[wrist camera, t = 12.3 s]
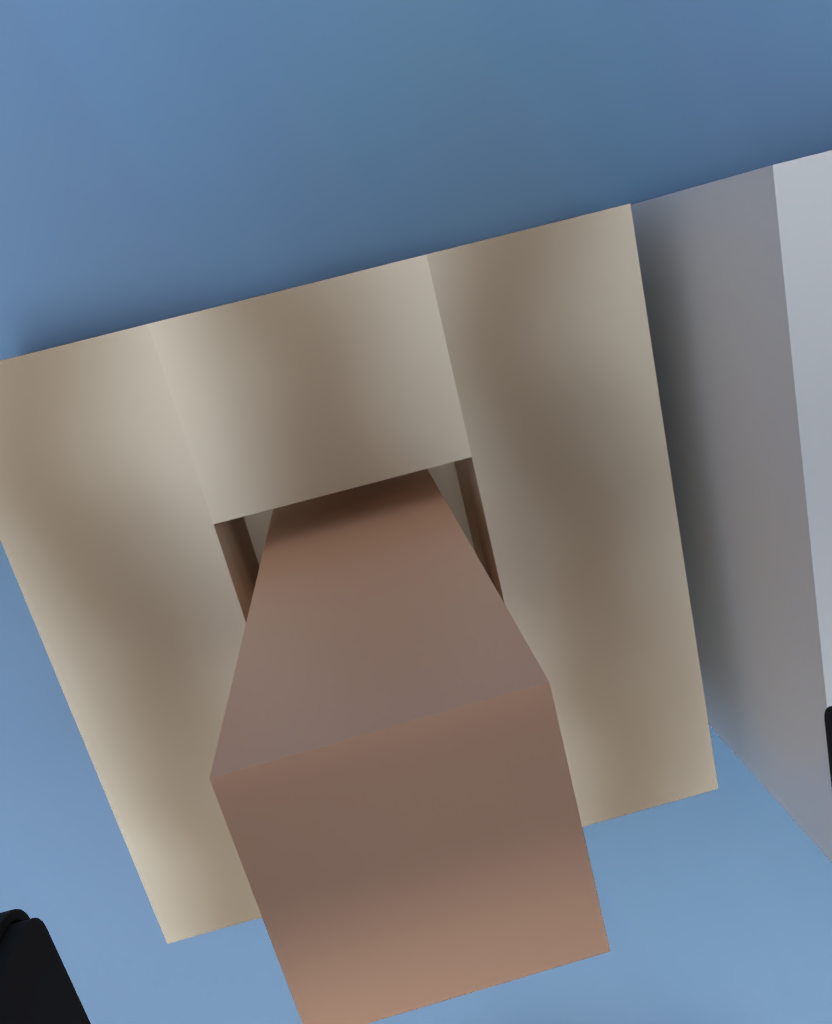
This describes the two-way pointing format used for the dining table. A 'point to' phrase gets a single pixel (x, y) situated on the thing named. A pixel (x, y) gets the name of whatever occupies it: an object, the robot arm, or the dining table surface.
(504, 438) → the lower socket
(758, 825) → the dining table surface
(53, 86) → the dining table surface
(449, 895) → the plug
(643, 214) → the upper socket
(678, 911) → the dining table surface
